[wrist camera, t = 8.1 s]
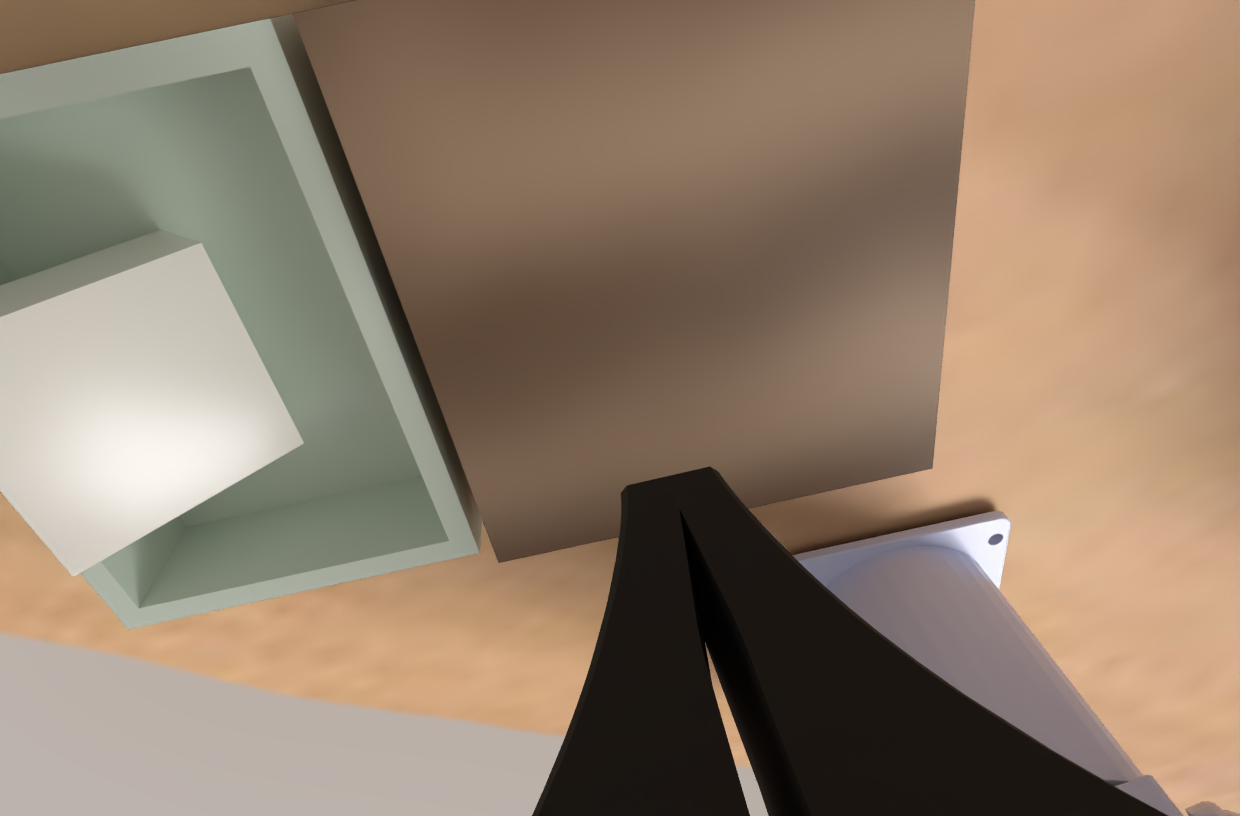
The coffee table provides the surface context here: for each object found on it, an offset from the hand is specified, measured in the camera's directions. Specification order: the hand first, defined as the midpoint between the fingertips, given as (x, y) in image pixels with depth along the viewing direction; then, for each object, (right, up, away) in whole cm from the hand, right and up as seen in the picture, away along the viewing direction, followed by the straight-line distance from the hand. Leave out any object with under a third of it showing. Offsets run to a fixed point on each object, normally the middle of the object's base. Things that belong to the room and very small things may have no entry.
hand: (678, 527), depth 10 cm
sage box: (-10, +4, +7) cm, 13 cm away
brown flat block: (0, +6, +7) cm, 9 cm away
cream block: (-10, +2, +4) cm, 11 cm away
